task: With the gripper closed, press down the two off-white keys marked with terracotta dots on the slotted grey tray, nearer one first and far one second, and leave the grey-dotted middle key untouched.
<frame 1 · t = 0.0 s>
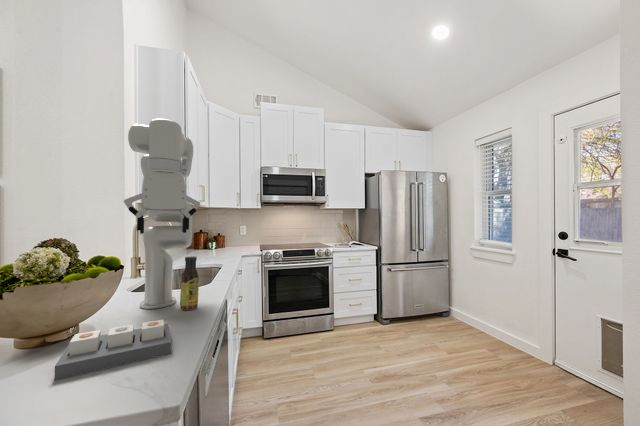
hand: (163, 232, 71), 31 cm above the worktop, tool pointing down, fingers open, 9 cm apart
dot key a: (153, 331, 73), point 4 cm above the worktop, slide at 0.0 cm
plain key: (121, 337, 70), point 4 cm above the worktop, slide at 0.0 cm
foam cup: (59, 338, 78), on the worktop
dot key b: (85, 343, 66), point 4 cm above the worktop, slide at 0.0 cm
slotted grey tray: (120, 352, 70), on the worktop
sauce bottle: (189, 309, 103), on the worktop
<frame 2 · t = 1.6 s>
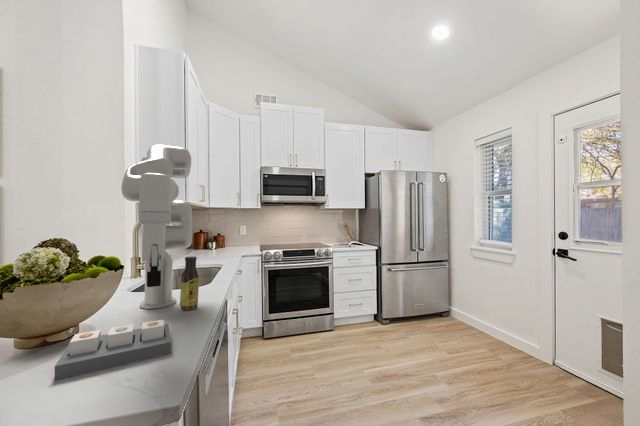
hand: (153, 285, 73), 17 cm above the worktop, tool pointing down, fingers closed
nothing on the worktop moved.
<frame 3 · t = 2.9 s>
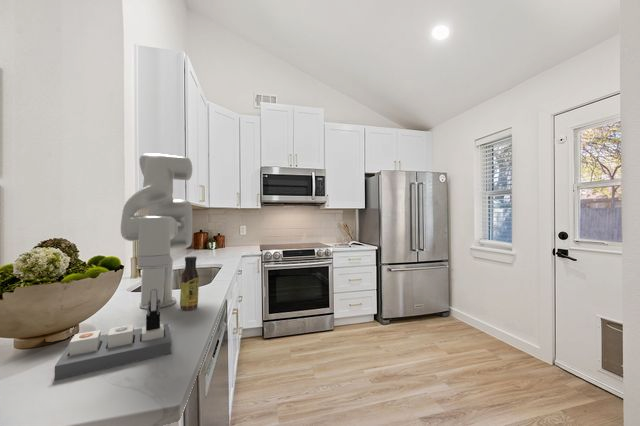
hand: (153, 328, 73), 5 cm above the worktop, tool pointing down, fingers closed
dot key a: (152, 335, 73), point 3 cm above the worktop, slide at 1.2 cm, touching gripper
everything else where it was.
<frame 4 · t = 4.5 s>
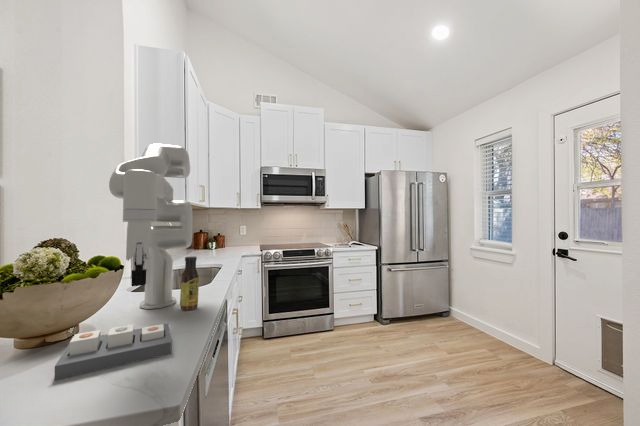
hand: (138, 284, 72), 17 cm above the worktop, tool pointing down, fingers closed
dot key a: (152, 336, 73), point 3 cm above the worktop, slide at 1.3 cm
everything else where it was.
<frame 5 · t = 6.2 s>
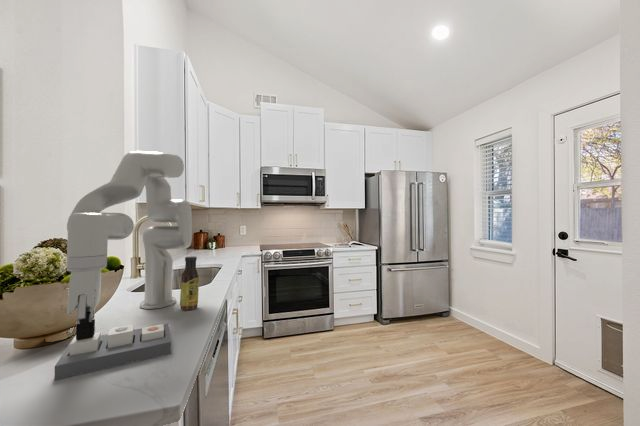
hand: (85, 337, 66), 6 cm above the worktop, tool pointing down, fingers closed
dot key b: (85, 345, 66), point 4 cm above the worktop, slide at 0.5 cm, touching gripper
everything else where it was.
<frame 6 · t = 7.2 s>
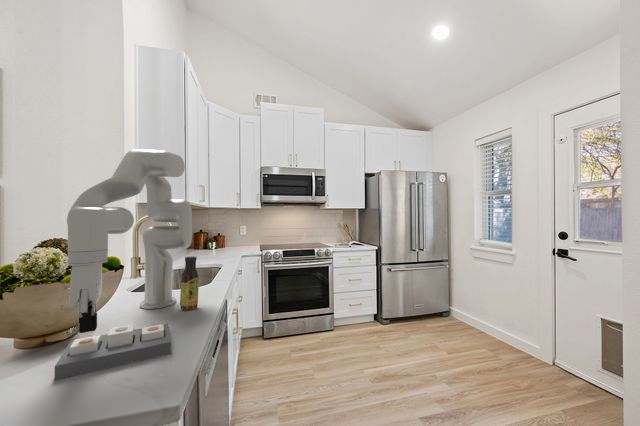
hand: (88, 330, 67), 7 cm above the worktop, tool pointing down, fingers closed
dot key b: (85, 349, 66), point 3 cm above the worktop, slide at 1.3 cm
everything else where it was.
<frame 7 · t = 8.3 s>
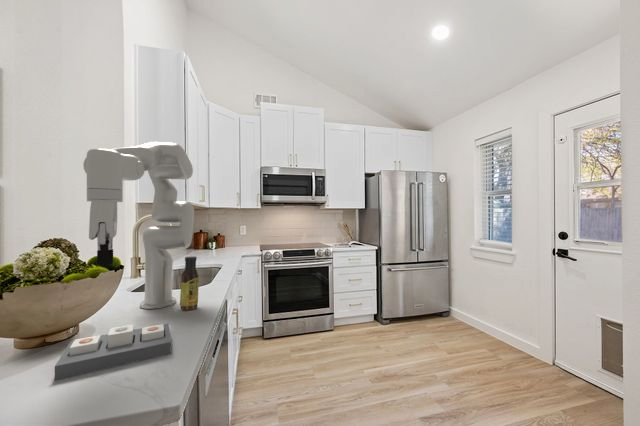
hand: (105, 264, 72), 22 cm above the worktop, tool pointing down, fingers closed
nothing on the worktop moved.
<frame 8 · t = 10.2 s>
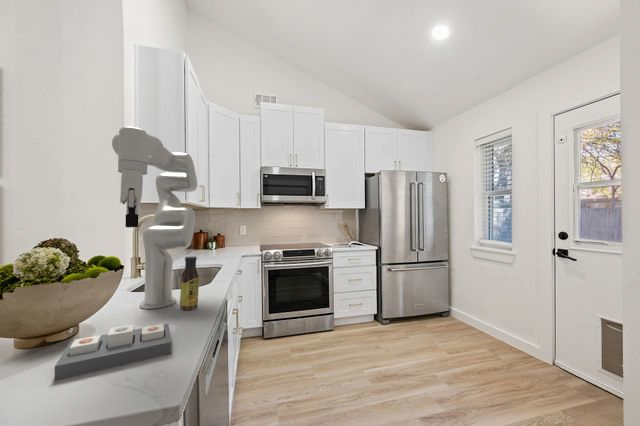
hand: (131, 227, 83), 32 cm above the worktop, tool pointing down, fingers closed
nothing on the worktop moved.
at the end: dot key a slide at 1.3 cm; dot key b slide at 1.3 cm; plain key slide at 0.0 cm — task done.
